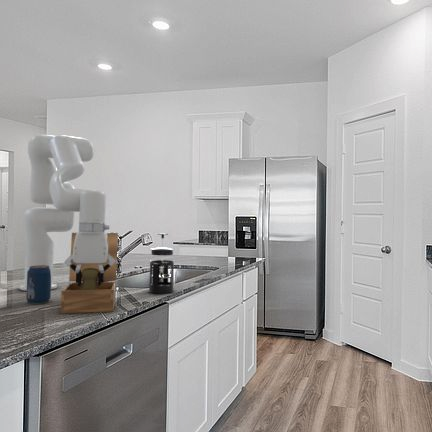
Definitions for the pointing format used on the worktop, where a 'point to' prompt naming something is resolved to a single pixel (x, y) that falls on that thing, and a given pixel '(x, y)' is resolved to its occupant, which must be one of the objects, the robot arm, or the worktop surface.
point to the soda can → (38, 284)
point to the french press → (163, 286)
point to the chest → (88, 298)
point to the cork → (89, 279)
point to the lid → (108, 274)
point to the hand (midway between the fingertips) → (89, 284)
